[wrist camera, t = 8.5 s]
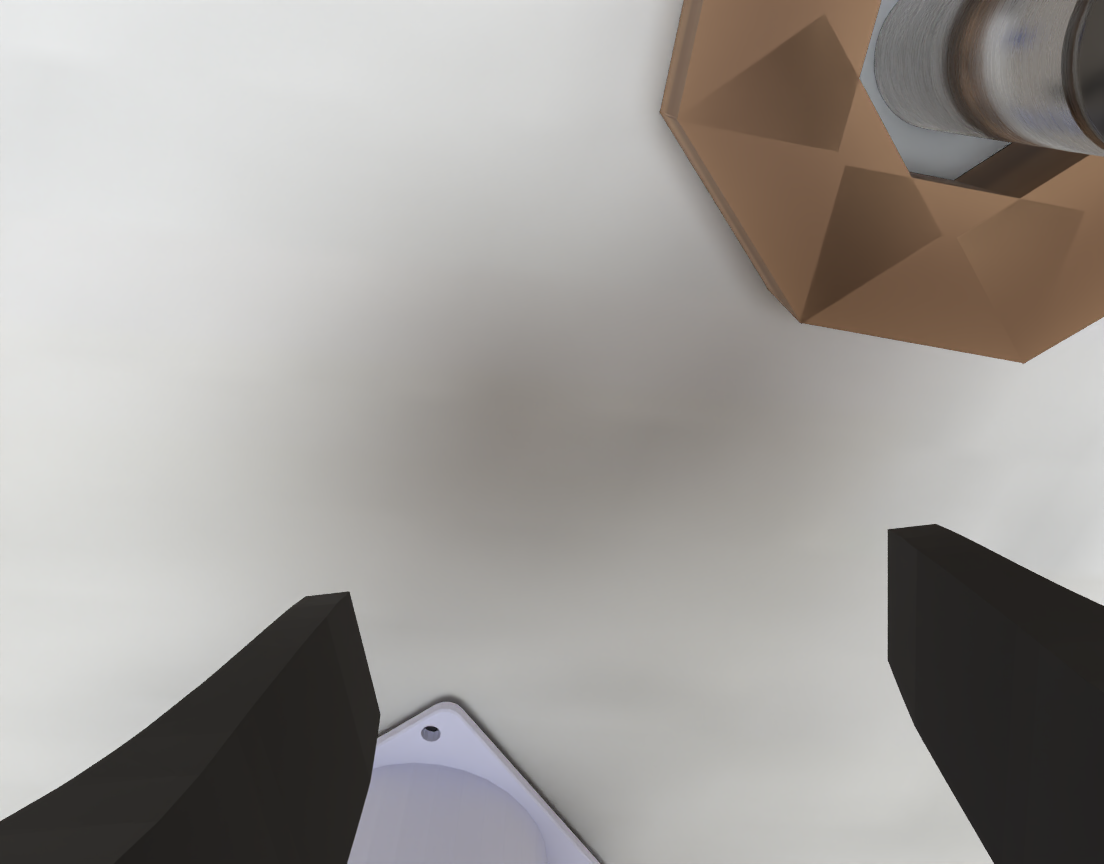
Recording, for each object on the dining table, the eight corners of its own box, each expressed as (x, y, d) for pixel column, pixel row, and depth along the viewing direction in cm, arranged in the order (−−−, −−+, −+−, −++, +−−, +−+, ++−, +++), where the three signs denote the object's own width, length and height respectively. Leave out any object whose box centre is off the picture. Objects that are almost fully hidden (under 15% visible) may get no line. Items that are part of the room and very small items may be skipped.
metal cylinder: (916, 159, 19) (1137, 213, 12) (847, 34, 18) (1041, 10, 11) (1047, 70, 19) (1367, 70, 11) (982, -63, 18) (1285, -159, 10)
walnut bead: (835, 400, 21) (877, 449, 19) (573, -29, 18) (575, -48, 15) (1303, 118, 19) (1431, 127, 16) (1098, -434, 16) (1214, -543, 13)
